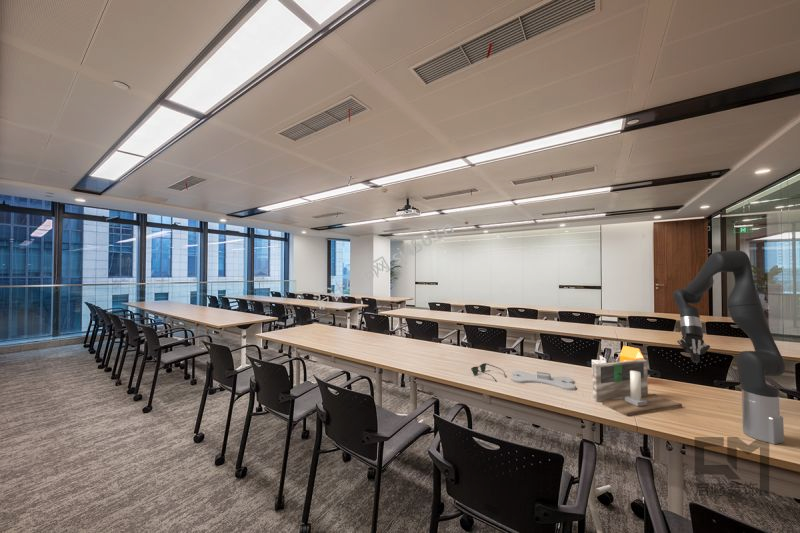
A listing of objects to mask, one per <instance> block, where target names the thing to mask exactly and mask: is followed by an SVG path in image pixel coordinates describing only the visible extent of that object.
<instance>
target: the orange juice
mask: <svg viewBox="0 0 800 533" xmlns="http://www.w3.org/2000/svg"><path fill="white" fill-rule="evenodd" d="M640 359H644V360H645V358H644V356H643V354H642V351H641V350H640V348H637V347H632V346H627V345H623V346H622V349H621V351H620V353H619V362H620V361H630V360H640Z"/></svg>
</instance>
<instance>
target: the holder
mask: <svg viewBox="0 0 800 533" xmlns="http://www.w3.org/2000/svg"><path fill="white" fill-rule="evenodd" d="M510 380H511V381H512V382H514V383H518V384H527V383H528V384H541V383H542V384H543V385H548V386H553V387H555V388H559V389H562V390H566V391H575V390H577V386H576V385H575V384H574V382H575V381H574V379H573V378H571V377H570V376H569V377H568V376H562V375H561V376H560V375H559V376H551V373H549V372H542V371H536V374H535V373H529V372H526V371H523V370H513V371H512V372H511V376H510Z"/></svg>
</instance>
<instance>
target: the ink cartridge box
mask: <svg viewBox="0 0 800 533" xmlns="http://www.w3.org/2000/svg"><path fill="white" fill-rule="evenodd" d="M601 363H607V358H605V357H603V356H602V355H599V359H591V365H592V364H601ZM591 378H592V380H593V369H592V368H591Z"/></svg>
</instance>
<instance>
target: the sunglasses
mask: <svg viewBox="0 0 800 533" xmlns="http://www.w3.org/2000/svg"><path fill="white" fill-rule="evenodd" d="M487 365H488V366H490V367H493V368H496V369H498V370H501V371H502V372H503V374H504V378H505V379H506V378H507V376H506V372H505V371H504V370H503V369H502V368H500V367H497V366H495V365H493V364H490V363H486V362H484V363H481V364H480V365H478V366H473V367H471V368H470V370H471V372H472V374H473V375H474V374H475V375H477V374H478V373H481V374H484V375H488V376H491V378H493V379H494V382H496V383H497V382H498V381H497V379H496V378H495V377H494V376H493V375H491V374H489V373H487V372H485V371H486V368H487V367H486V366H487ZM479 368H480V369H479ZM482 371H483V372H482Z"/></svg>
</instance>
